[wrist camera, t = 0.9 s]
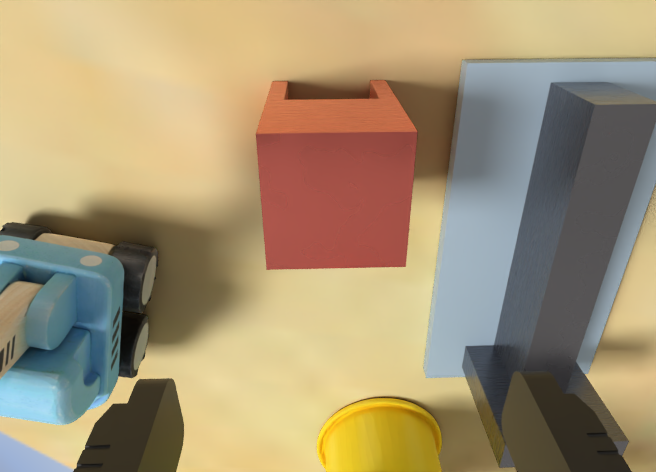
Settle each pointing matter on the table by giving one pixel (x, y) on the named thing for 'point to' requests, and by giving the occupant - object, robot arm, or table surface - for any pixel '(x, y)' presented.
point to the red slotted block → (335, 180)
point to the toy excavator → (68, 321)
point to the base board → (512, 197)
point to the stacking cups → (380, 438)
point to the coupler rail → (564, 247)
